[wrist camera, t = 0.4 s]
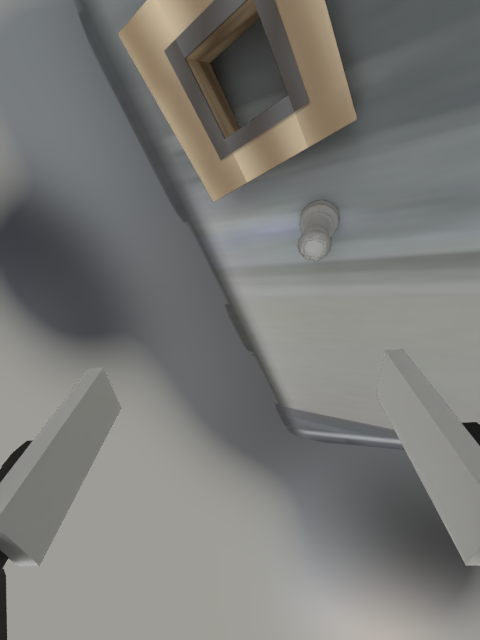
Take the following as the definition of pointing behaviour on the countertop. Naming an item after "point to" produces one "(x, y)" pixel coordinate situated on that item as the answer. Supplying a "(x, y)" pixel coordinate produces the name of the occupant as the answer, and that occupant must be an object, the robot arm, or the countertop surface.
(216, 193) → the socket block
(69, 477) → the robot arm
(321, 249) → the rook chess piece
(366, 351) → the countertop surface
